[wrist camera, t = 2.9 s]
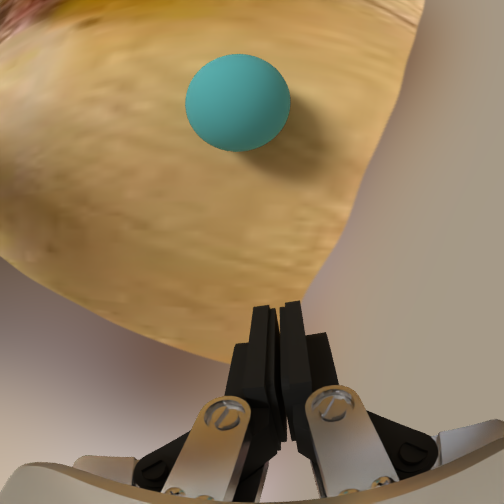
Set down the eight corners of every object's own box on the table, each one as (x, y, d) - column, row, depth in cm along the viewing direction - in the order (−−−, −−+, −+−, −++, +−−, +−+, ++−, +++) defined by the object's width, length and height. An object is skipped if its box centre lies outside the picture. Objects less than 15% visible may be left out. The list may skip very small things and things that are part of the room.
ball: (208, 160, 18) (182, 163, 13) (192, 82, 16) (163, 56, 11) (294, 144, 18) (306, 139, 12) (277, 64, 16) (281, 29, 10)
